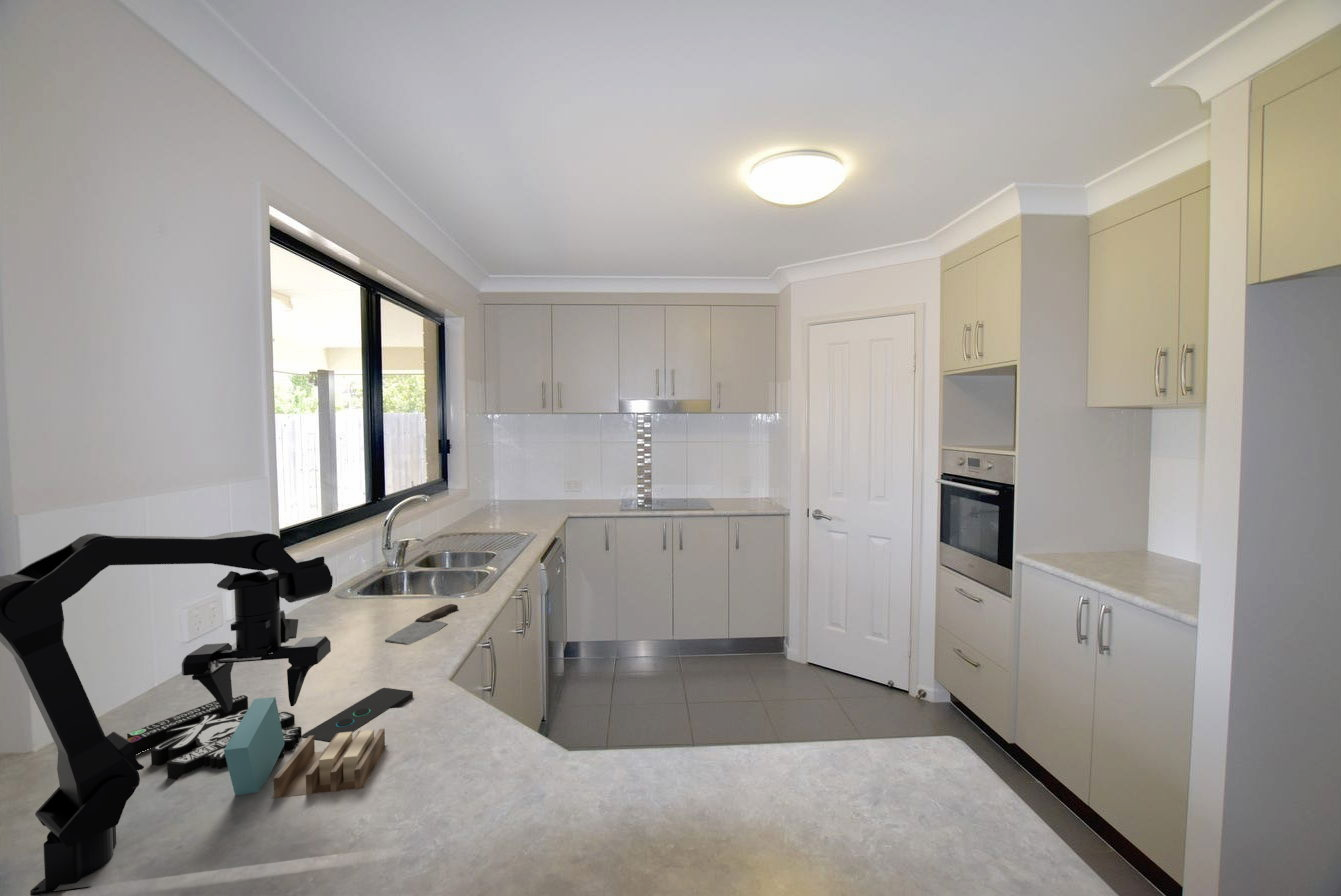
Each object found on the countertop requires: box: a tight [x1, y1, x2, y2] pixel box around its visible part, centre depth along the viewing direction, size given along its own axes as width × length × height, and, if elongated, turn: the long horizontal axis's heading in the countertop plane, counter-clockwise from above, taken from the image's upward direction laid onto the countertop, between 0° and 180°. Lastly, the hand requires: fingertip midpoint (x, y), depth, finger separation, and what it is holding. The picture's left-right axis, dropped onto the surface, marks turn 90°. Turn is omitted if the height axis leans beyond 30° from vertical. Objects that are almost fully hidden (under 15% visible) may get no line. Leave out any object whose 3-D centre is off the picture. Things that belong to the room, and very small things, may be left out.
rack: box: [271, 728, 388, 799], centre depth 92 cm, size 12×13×4 cm
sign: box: [126, 694, 303, 781], centre depth 100 cm, size 19×3×30 cm
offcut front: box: [343, 729, 375, 782], centre depth 92 cm, size 8×2×4 cm, turn 11°
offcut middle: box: [319, 732, 353, 785], centre depth 92 cm, size 8×2×4 cm, turn 11°
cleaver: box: [384, 603, 459, 646], centre depth 162 cm, size 30×10×2 cm, turn 171°
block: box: [224, 696, 285, 796], centre depth 89 cm, size 10×3×10 cm, turn 14°
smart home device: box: [301, 687, 414, 743], centre depth 110 cm, size 8×2×20 cm
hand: (261, 707), depth 89 cm, fingers open, 9 cm apart
